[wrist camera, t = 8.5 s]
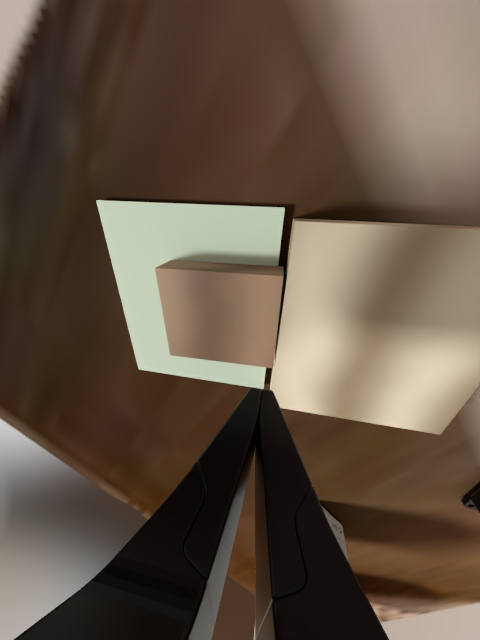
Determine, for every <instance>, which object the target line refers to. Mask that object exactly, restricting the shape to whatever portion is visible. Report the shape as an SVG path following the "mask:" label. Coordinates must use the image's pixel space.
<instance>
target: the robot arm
mask: <svg viewBox="0 0 480 640" xmlns="http://www.w3.org/2000/svg"><path fill="white" fill-rule="evenodd" d="M261 393H262V394H261ZM260 402H261V403H260ZM259 411H260V412H259ZM258 420H259V421H258ZM257 429H258V430H257ZM256 437H257V439H256ZM255 446H256V449H255ZM254 452H255V639H256V640H389V639H388V637H387V635H386V633H385V631H384V629H383V628H382V626H381V624H380V622H379V620H378V618H377V616H376V614H375V612H374V610H373V608H372V606H371V604H370V602H369V601H368V599H367V597H366V595H365V593H364V591H363V589H362V587H361V585H360V583H359V581H358V579H357V578H356V576H355V574H354V572H353V570H352V568H351V566H350V564H349V562H348V560H347V558H346V556H345V555H344V553H343V551H342V549H341V547H340V545H339V543H338V541H337V539H336V537H335V535H334V532H333V530H332V528H331V526H330V524H329V522H328V520H327V518H326V515H325V513H324V511H323V509H322V506H321V504H320V502H319V499H318V497H317V495H316V492H315V490H314V488H313V487H311V486H312V483H311V481H310V478H309V476H308V473H307V471H306V469H305V466H304V464H303V461H302V459H301V457H300V454H299V452H298V449H297V447H296V445H295V442H294V440H293V437H292V435H291V433H290V430H289V428H288V425H287V423H286V421H285V418H284V416H283V413H282V411H281V409H280V406H279V404H278V401H277V399H276V397H275V394H274V392H273V391H272V390H267V389H263V390H261V389H260V388H254V387H252V388H250V390H249V391H248V392H247V394H246V395H245V396H244V398H243V399H242V400H241V402H240V403H239V405H238V406H237V407H236V409H235V410H234V411H233V413H232V414H231V415H230V417H229V418H228V419H227V421H226V422H225V424H224V425H223V426H222V428H221V429H220V430H219V432H218V433H217V434H216V436H215V437H214V439H213V440H212V441H211V443H210V444H209V445H208V447H207V448H206V449H205V451H204V452H203V453H202V455H201V456H200V458H199V459H198V462H196V463H195V464H194V465H193V467H192V468H191V470H190V471H189V472H188V474H187V475H186V476H185V477H184V479H183V480H182V481H181V483H180V484H179V485H178V486H177V488H176V489H175V490H174V491H173V493H172V494H171V495H170V496H169V497H168V498H167V499H166V501H165V502H164V503H163V504H162V505H161V506H160V508H159V509H158V510H157V511H156V512H155V513H154V514H153V515H152V516H151V517H150V519H149V520H148V521H147V522H146V523H145V524H144V525H143V526H142V527H141V529H140V530H139V531H138V532H137V533H136V534H135V535H134V536H133V537H132V539H131V540H130V541H129V542H128V543H127V544H126V545H125V546H124V547H123V548H122V549H121V551H120V552H119V553H118V554H117V555H116V556H115V557H114V558H113V559H112V560H111V561H110V562H109V563H108V564H107V565H106V566H105V568H103V569H102V570H101V571H100V572H99V573H98V574H97V575H96V576H95V577H94V578H93V579H92V580H91V581H90V582H88V583H87V584H86V585H85V586H84V587H82V588H81V589H80V590H79V591H78V592H76V593H75V594H74V595H72V596H71V597H70V598H68V599H67V600H66V601H65V602H63V603H62V604H60V605H59V606H58V607H56V608H55V609H54V610H52V611H51V612H50V613H48V614H47V615H46V616H44V617H43V618H42V619H40V620H39V621H38V622H37V623H35V624H34V625H33V626H31V627H30V628H29V629H27V630H26V631H24V632H23V633H22V634H21V635H19V636H18V637H17V638H15V639H14V640H211V638H212V634H213V629H214V628H213V626H214V625H215V620H216V617H217V612H218V608H219V603H220V599H221V594H222V591H223V586H224V582H225V578H226V573H227V569H228V565H229V560H230V556H231V552H232V547H233V543H234V539H235V534H236V530H237V526H238V522H239V517H240V513H241V509H242V504H243V500H244V496H245V491H246V487H247V483H248V478H249V474H250V470H251V465H252V461H253V457H254ZM461 501H462V503H463V504H464V506H465V507H466V508H469V509H474V510H478V511H479V512H480V483H479V484H478V485H477V486H476V487H475V488H474V489H473V490H472V491H471V492H469V493H468V494H467V495H466V496H465V497H464V498H463V499H462V500H461Z"/></svg>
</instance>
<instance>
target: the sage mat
mask: <svg viewBox="0 0 480 640" xmlns="http://www.w3.org/2000/svg"><path fill="white" fill-rule="evenodd" d="M96 202H97V206H98V210H99V214H100V218H101V222H102V226H103V229H104V233H105V237H106V241H107V245H108V249H109V253H110V257H111V261H112V265H113V269H114V273H115V277H116V281H117V285H118V289H119V293H120V297H121V301H122V305H123V309H124V313H125V317H126V321H127V325H128V329H129V333H130V337H131V341H132V345H133V349H134V353H135V357H136V361H137V365H138V369H140V370H146V371H152V372H159V373H165V374H171V375H178V376H184V377H190V378H197V379H203V380H209V381H216V382H222V383H229V384H235V385H241V386H248V387H254V388H260V389H264V381H265V372H266V367H258V366H250V365H243V364H235V363H227V362H219V361H211V360H204V359H196V358H188V357H180V356H172V355H170V352H169V346H168V340H167V334H166V329H165V323H164V317H163V312H162V306H161V300H160V295H159V289H158V283H157V277H156V272H155V268H156V267H158V266H160V265H162V264H164V263H166V262H168V261H170V260H180V261H197V262H214V263H232V264H249V265H266V266H278V263H279V254H280V246H281V237H282V229H283V220H284V212H285V208H284V207H258V206H233V205H207V204H182V203H156V202H130V201H105V200H96Z"/></svg>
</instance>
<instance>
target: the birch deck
mask: <svg viewBox="0 0 480 640" xmlns="http://www.w3.org/2000/svg"><path fill="white" fill-rule="evenodd" d="M479 384H480V227H474V226H452V225H430V224H408V223H386V222H365V221H343V220H321V219H299V218H293V222H292V229H291V236H290V244H289V251H288V258H287V265H286V273H285V280H284V287H283V295H282V302H281V309H280V316H279V324H278V331H277V338H276V347H275V356H274V365H273V368H272V375H271V383H270V390H272V391H273V392H274V394H275V397H276V399H277V401H278V404H279V406H280V408H284V409H290V410H296V411H302V412H308V413H314V414H320V415H326V416H332V417H338V418H344V419H350V420H356V421H362V422H368V423H374V424H380V425H386V426H392V427H398V428H404V429H410V430H416V431H422V432H428V433H434V434H440V435H441V433H442V432H443V431H444V430H445V428H446V427H447V426H448V424H449V423H450V422H451V420H452V419H453V418H454V417H455V415H456V414H457V413H458V411H459V410H460V409H461V408H462V406H463V405H464V404H465V402H466V401H467V400H468V399H469V397H470V396H471V395H472V393H473V392H474V391H475V390H476V388H477V387H478V386H479Z"/></svg>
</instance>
